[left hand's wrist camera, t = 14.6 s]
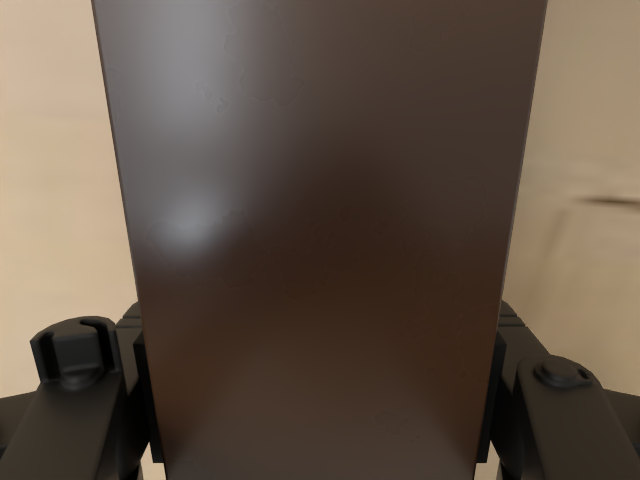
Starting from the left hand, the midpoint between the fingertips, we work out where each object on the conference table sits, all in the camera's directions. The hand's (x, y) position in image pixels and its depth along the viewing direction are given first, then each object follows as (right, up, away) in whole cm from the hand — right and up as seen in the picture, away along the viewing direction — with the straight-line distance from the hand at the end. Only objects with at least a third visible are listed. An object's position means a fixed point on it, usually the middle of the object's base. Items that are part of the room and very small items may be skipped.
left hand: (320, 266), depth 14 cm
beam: (0, +10, -3) cm, 11 cm away
